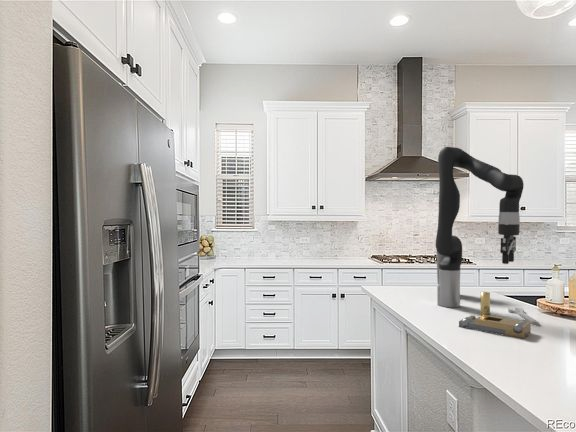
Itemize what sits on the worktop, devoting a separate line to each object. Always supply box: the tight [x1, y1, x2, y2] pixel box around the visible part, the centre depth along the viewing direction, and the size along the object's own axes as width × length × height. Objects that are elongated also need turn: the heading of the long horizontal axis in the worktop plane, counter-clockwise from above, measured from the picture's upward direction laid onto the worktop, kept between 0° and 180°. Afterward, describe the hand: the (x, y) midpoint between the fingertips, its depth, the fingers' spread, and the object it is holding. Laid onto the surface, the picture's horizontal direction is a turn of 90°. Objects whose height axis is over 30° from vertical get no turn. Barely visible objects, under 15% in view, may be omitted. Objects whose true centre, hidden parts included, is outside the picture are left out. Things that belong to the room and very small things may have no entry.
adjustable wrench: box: [507, 307, 540, 327], centre depth 160 cm, size 25×6×2 cm, turn 163°
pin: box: [480, 291, 491, 316], centre depth 157 cm, size 3×3×11 cm
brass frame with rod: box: [458, 314, 532, 340], centre depth 142 cm, size 22×10×4 cm, turn 46°
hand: (508, 262), depth 156 cm, fingers open, 8 cm apart
